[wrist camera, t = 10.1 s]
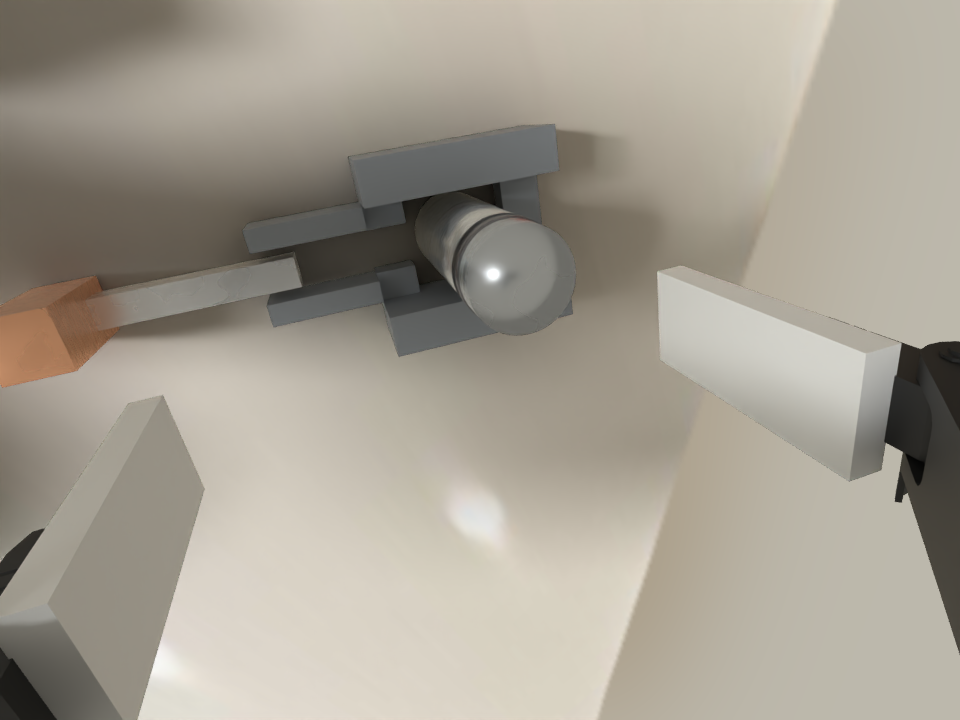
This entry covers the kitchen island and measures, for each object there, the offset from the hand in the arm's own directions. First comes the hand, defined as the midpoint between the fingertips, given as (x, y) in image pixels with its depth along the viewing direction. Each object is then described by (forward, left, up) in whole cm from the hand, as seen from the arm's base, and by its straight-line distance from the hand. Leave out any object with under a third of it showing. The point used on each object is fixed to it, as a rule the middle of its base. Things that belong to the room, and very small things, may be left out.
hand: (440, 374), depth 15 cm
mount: (+2, 0, -20) cm, 20 cm away
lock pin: (-11, 0, -19) cm, 22 cm away
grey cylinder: (+5, 0, -20) cm, 20 cm away
